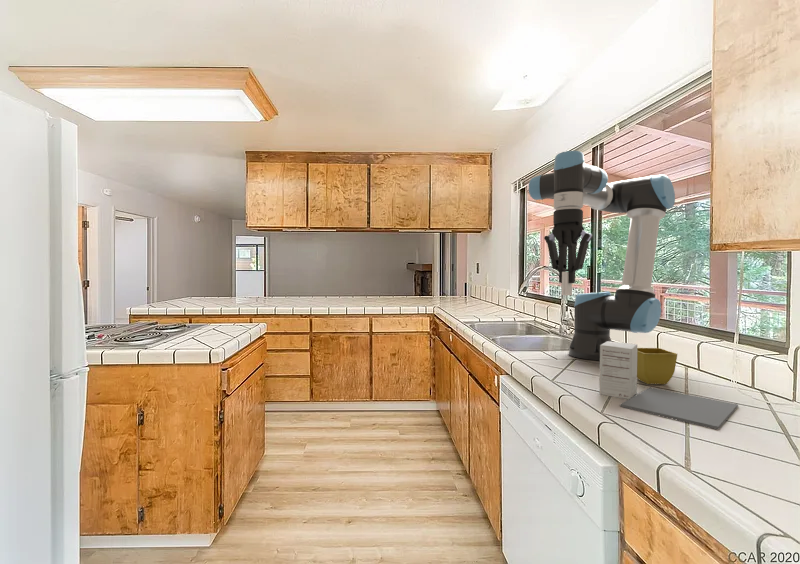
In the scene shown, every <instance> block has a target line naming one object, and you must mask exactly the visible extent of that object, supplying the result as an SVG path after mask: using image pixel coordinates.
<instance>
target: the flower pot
mask: <svg viewBox="0 0 800 564" xmlns="http://www.w3.org/2000/svg"><path fill="white" fill-rule="evenodd" d="M677 358H678V353H676V352H672V351H670V350H666V349H663V348H660V347H637V380H639V381H641V382H643V383H644V384H647V385H663V386H664V385H667V384H668V383H669V382H670V381H671V379H672V378H673V376H674V373H675V371H676V365H677V360H678V359H677Z"/></svg>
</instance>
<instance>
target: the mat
mask: <svg viewBox="0 0 800 564" xmlns="http://www.w3.org/2000/svg"><path fill="white" fill-rule="evenodd" d="M620 408H625V409H629V410H633V411H637V412H642V413H646V414H650V415H654V416H658V415H660V416H659V417H662V416H664V418H666V417H668V418H667V419H671V418H673V419H672V420H675V419H677V420H676V421H679V420H680V422H683V421H684V422H683V423H688V424H692V425H695V426H701V427H704V426H705V428H708V427H710V429H713V428H714V429H713V430H717V429H718V430H719V429H721V427H722V426H723V425H724V424H725V422H727V420H728V419H729V418H730V417H731V416H732V415H733V413H734V412H735V411H736V410H737V409H738V408H739V404H737V403H733V402H728V401H722V400H717V399H713V398H712V399H711V398H707V397H702V396H697V395H691V394H686V393H682V392H676V391H671V390H666V389H660V388H656V387H647V388H646V389H644V390H643V391H641V392H639V393H638V394H637V393H636V394H635V395H634V396H633V397H632V398H630V399H626V400H625V401H624V402H622V403H620Z"/></svg>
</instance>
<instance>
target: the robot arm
mask: <svg viewBox="0 0 800 564" xmlns="http://www.w3.org/2000/svg"><path fill="white" fill-rule="evenodd" d="M585 161H586V160H585V154H584V153H583V152H582V151H580V150H567V151H562V152H559V153H557V154H556V156H555V157H554V165H553V172H549V173H545V174H540V175H536V176H534V177H532V178H531V179H530V180H529V182H528V193H529V196H530V197H531V199H533V200H536V201H537V200H539V201H540V200H542V201H543V200H547V199H550V200H553V209H554V212H553V215H552V216H553V228H552V231H551V233H549V234H548V235H545V236H544V237H543V239H544V241H545V243H546V245H547V249H548V254H549V258H550V264H551V267H552V269H553V270H556V271H558V282H559V284H561V296H566V297H567V296H572V295H573V284H575V283H576V272H577V271H579V270H582V269H583V267H584V263H585V259H586V256H587V253H588V248H589V243H590V242H591V240H592V239H593V237H594V235H593V234H592V233H589V232H587V231H586V230H585V227H584V226H583V223H584V210H583V209H582V208H583V207H584V206H588V207H589V208H591V209H592V210H595V211H600V212H601V211H602V212H607V213H613V214H626V216H627V217H628V219H630V223H629V229H628V237H627V245H626V250H625V251H626V252H625V258H624V259H625V260H624V265H623V266H624V267H623V274H622V280H621V281H622V282H621V286H618V288H616V289H615V295H612V294H611V292H610V291H600V292H599V291H598V292H587V293H578V294H576V296H575V299H574V306H573V307H574V322H573V323H574V324H573V325H574V326H573V327H574V328H573V329H574V332H573V337H572V339H571V342H570V344H569V347H568V355H569V356H570V357H574V358H578V359H583V360H591V361H600V345H601V344H603V343H605V342H607V341H611V342H613V341H612V338H611V330H614V331H623V332H630V333H636V334H638V333H640V334H641V333H642V334H648V333H651V332H652V331H653V330H654V329H656V328H657V326H658V323H659V322H660V318H661V315H662V308H661V307H662V303H661V301H660V300H659V299H658V298H656V293H655V292H654V291H653V290H652V283H653V282H652V281H653V273H654V266H655V261H656V251H657V241H658V235H659V228H660V227H659V226H660V221H661V220H662V219H663V218H665V217H666V214H667V210H671V209H672V208H673V207H674V205H675V203H676V196H675V195H676V194H675V192H676V191H675V188H674V184H673V183H672V179H670V177H669V176H667V175H666V174H655V175H649V176H643V177H637V178H631V179H625V180H624V179H623V180H619V181H613V182H608V181H609V177H608V174H607V172H606V171H605V170H604V169H602V168H600V167H598V166H596V165H590V164H587V163H585ZM579 239H581V240H580V242H579V245H578V241H579ZM555 241H557V244H556V242H555ZM557 246H558V248H557ZM577 247H578V250H577Z"/></svg>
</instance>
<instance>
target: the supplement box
mask: <svg viewBox="0 0 800 564" xmlns="http://www.w3.org/2000/svg"><path fill="white" fill-rule="evenodd" d="M611 341H612V340H611ZM611 341H607V342H605V343H603V344H601V345H600V360H599V390H598V391H599V394H600V395H603V396H609V397H612V398H613V397H614V398H620V399H624V400H629V399H630V398H632V397H634V396H636V395H637V392H638V378H637V348H638V344H636V343H628V342H619V341H612V342H611Z"/></svg>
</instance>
